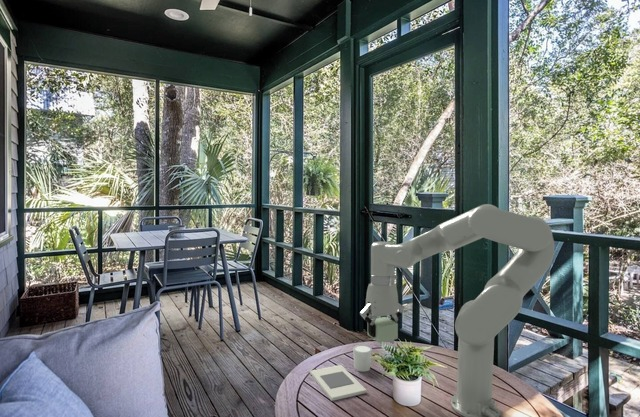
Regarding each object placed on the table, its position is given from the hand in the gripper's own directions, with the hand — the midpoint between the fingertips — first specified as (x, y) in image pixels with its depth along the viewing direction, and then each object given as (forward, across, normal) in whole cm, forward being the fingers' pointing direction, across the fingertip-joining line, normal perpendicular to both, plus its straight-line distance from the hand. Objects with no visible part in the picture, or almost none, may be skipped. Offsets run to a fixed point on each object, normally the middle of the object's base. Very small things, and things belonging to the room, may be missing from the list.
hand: (382, 333), depth 122 cm
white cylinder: (+17, 0, -12) cm, 21 cm away
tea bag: (+17, -16, -20) cm, 30 cm away
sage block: (+1, 0, 0) cm, 1 cm away
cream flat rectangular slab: (+17, +13, -6) cm, 22 cm away
